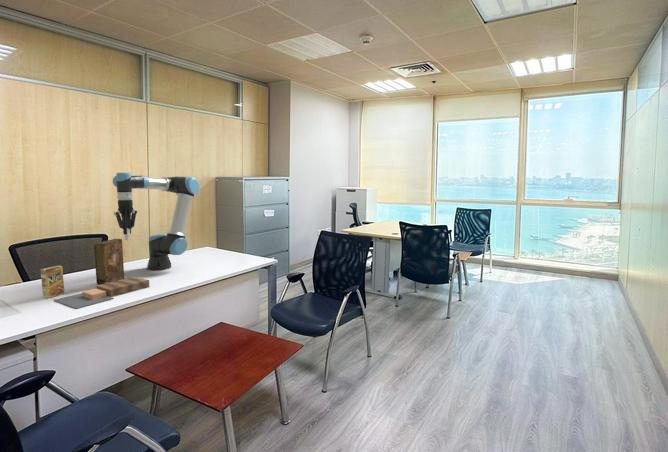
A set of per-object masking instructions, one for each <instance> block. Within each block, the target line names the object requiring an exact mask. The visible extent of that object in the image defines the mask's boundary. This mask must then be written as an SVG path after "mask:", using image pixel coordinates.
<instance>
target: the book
mask: <svg viewBox="0 0 668 452" xmlns="http://www.w3.org/2000/svg"><path fill="white" fill-rule="evenodd" d="M93 246H94V249H93V251H94V264H95V280H96V285H100V284H105V283H109V282H113V281H118V280H122V279H125V268H124V266H125V265H124V252H123V250H124V248H123V239H122V238H113V239H109V240H103V241H100V242H94V245H93Z"/></svg>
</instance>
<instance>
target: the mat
mask: <svg viewBox="0 0 668 452" xmlns="http://www.w3.org/2000/svg"><path fill="white" fill-rule="evenodd" d="M111 300H114V297H109V296H105V297H101V298H98V299H94V300H92V299H89V298H86V297H83V296H82V292H81V293H76V294H73V295H68V296H64V297H59V298H56V299H53V301H54V302H56V303H59V304H61V305H64V306H67V307H70V308H71V309H74V310H78V309H81V308H86V307H89V306H92V305H96V304H101V303H104V302H107V301H111Z"/></svg>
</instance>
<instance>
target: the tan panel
mask: <svg viewBox="0 0 668 452" xmlns="http://www.w3.org/2000/svg"><path fill="white" fill-rule="evenodd" d="M95 287H96V289H100V290H103V291H106V294H107V296H108V297H112V298H114V297H117V296H121V295H125V294H129V293H132V292H137V291H139V290H144V289H147V288H150V287H151V286H150V280H149V279H146V278H142V277H138V276H131V277H127V278H124V279H122V280H118V281H113V282H109V283H105V284H100V285H97V284H96V286H95Z"/></svg>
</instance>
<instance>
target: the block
mask: <svg viewBox="0 0 668 452" xmlns="http://www.w3.org/2000/svg"><path fill="white" fill-rule="evenodd" d="M81 293H82V296H83V297H86V298H89V299H92V300H94V299H98V298H101V297H105V296H107V294H106V291H103V290H100V289H96V288H91V289H89V290H84V291H81Z"/></svg>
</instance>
